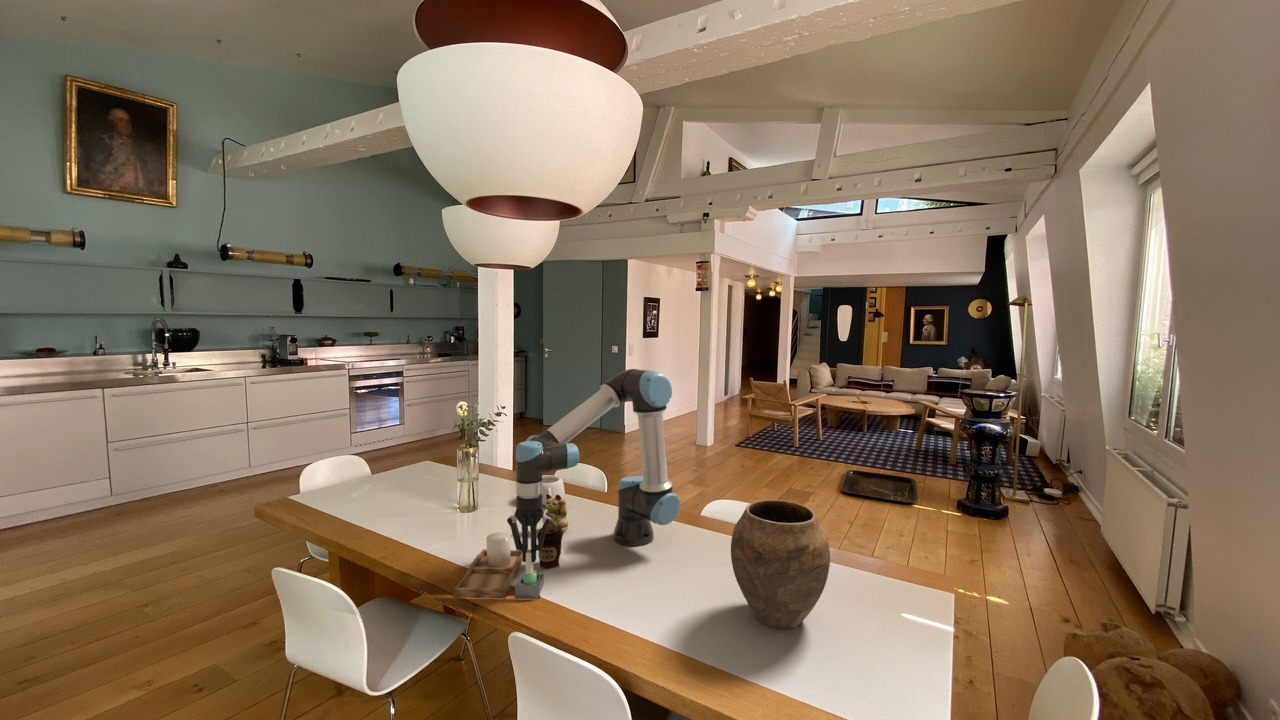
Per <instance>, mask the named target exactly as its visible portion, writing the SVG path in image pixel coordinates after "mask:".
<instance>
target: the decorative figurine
mask: <svg viewBox="0 0 1280 720" xmlns="http://www.w3.org/2000/svg"><path fill="white" fill-rule="evenodd" d="M546 498H547V501H546V505H545V509H546V511H545V513H544V514H545V515H546V516H548V517H549V516H550V517H551V521H550V522H549V524H548V526H557V527H560V528H561V531H562V532H563V533H565V531H567V530H568V527H569V520H568V519H567V515H568V511H567V501H566V499H565V498H564V499H562V497H561V495H559V494H558V495H556V496H555V497H553V496H552V495H550V494H546Z"/></svg>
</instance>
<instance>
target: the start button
mask: <svg viewBox="0 0 1280 720" xmlns="http://www.w3.org/2000/svg"><path fill="white" fill-rule="evenodd" d="M522 574H523V583H536V582H537V574H538V573H537V571H536V570H535V569H533V571H532V573H531V574H526V570H524V571H523V572H522Z"/></svg>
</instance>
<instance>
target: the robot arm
mask: <svg viewBox="0 0 1280 720" xmlns="http://www.w3.org/2000/svg"><path fill="white" fill-rule="evenodd" d="M672 395H673V386H672V383H671V381H670V380H669V377H667V376H666V375H665V374H663V373H662V372H658V371H655V370H649V369H647V370H645V369H637V368H630V369H626V370H623V371H621V372H619V373H617V374H616V375H614V376H612V377H611V378H610V379H608V380H606V382H604V383H603V384H601V385H600V389H599V390H598V391H597V392H596V393H594V394H592V395H591V396H590V397H589V398H587V399H586V400H585V401H583V403H581V404H579V406H577V407H576V408H573V410H571V411H570V412H569V413H567V414H566V415H565V416H564V417H562V418H561V419H559V420H558V421H557V422H556V423H554V424H553V425H551V426H550V427H549V428H547V429H546V430H545V431H543V432H541V434H539V435H538V434H537V435H531V436H528V437H527V438H526V440H525V441H522V442H519V443H518V444H517V445H516V451H515V466H516V467H515V469H516V470H515V471H516V472H515V473H516V475H515V476H516V478H515V480H516V481H515V487H516V490H515V493H516V497H515V499H516V500H515V505H516V506H515V507H516V509H515V511H514V514H512V515H509V516H508V517H507V520H506V521H507V524H508V525H509V527H510V529H511V534H512V539H513V541H514V546H515V550H521V551H522V553H523V562H522V563H525V571H526V574H531V573H532V571H533V570H534V563H536V561H537V552H538V550H541V548H542V546H543V542H544V538H545V534H546V530H547V526H548V524H549V522H550V521H551V517H550V516H549V517H548V516H546V515H545V514H546V513H545V511H544V510H543V506H542V495H541V493H542V476H543V473H544V474H545V473H549V472H554V471H560V470H568V469H571V468H575V467H576V466H578V464H579V462H580V451H579V448H578V446H577V445H576V444H575V443H572V442H571V443H569V442H570V441H571V440H572V439H574V438H576V436H577V435H580V433H582V432H583V431H584V430H586V429H587V428H588V427H589V426H590V425H592V424H593V423H594V422H596V421H597V420H598V419H600V418H601V417H602V416H604V415H605V414H606V413H607V412H608V411H610V410H611V409H612V408H618V407H619V406H621V405H622V404H625V403H628V402H630V403H631V402H632V403H631V404H632V412H633V413H634V414H636V415H637V419H638V420H637V421H638V432H639V443H640V445H639V446H640V455H641V456H640V457H641V468H642V475H631V476H625V477H623V478H621V479H620V480H619V482H618V487H617V491H618V493H617V495H618V496H617V498H618V503H617V505H618V506H617V507H618V508H617V510H618V513H617V514H618V517H617V519H616V520H617V521H616V523H615V526H614V529H613V540H614V541H615V542H616V543H618V544H620V545H622V546H631V547H637V546H638V547H640V546H644V545H647V544H650V543H652V542H653V541H654V540H655V539H654V536H655V535H654V529H653V525H652V523H653V524H656V525H658V526H667V525H669V524H671V523H672V522H673V521H674V520H676V518H677V516H678V515H679V513H680V509H681V499H680V497H679V496H678V495H677V494H676V493H674V489H673V482H672V481H671V480H670V479H668V470H667V469H668V468H667V465H668V464H667V456H666V443H665V441H666V439H665V429H664V418H663V417H664V415H663V414H664V413H665V411H666V410H667V408H668V407H667V405H668V404H669V402H670V401H671V400H670V399H671V398H672ZM541 520H542V521H541ZM517 521H518V522H519V524H520V525H521V535H520V531H519V525H518V524H517ZM540 521H541V523H542V524H543V525H542V527H541V528H542V530H541V534H540V538H539V542H538V539H537V534H538V532H537V526H538V523H540ZM529 527H530V528H529ZM529 530H530V548H529Z"/></svg>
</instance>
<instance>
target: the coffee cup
mask: <svg viewBox="0 0 1280 720" xmlns="http://www.w3.org/2000/svg"><path fill="white" fill-rule="evenodd" d="M541 530H542V527H540V529H539V531H538V532H537V543H538V542H539V538H540V534H541ZM563 535H564V532H562V531H561V528H560V527H557V526H547V530H546V534H545V538H544V542H543V546H542V548H541V550H538V551H537V552H538V554H537V555H538V560H539V566H540V568H542V569H544V570H552V569H555V568H557V570H559V569H560V556H561V554H562V540H563Z"/></svg>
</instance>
